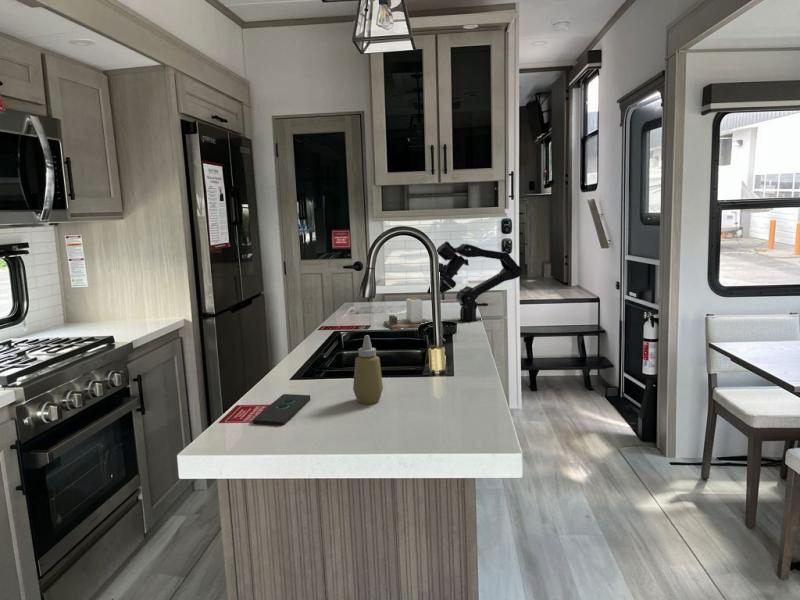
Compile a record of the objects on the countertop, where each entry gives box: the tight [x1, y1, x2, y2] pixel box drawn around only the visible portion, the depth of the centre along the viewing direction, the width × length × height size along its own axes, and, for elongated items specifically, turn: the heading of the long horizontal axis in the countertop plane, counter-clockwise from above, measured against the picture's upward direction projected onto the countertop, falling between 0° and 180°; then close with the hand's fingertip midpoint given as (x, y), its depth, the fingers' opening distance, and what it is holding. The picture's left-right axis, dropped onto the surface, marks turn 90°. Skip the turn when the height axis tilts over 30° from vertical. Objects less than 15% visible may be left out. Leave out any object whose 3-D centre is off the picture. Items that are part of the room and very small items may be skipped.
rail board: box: [383, 314, 430, 330], centre depth 255 cm, size 18×14×4 cm
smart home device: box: [252, 393, 311, 427], centre depth 149 cm, size 8×2×20 cm
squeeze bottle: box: [352, 334, 384, 405], centre depth 154 cm, size 8×8×18 cm
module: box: [405, 296, 423, 323], centre depth 256 cm, size 5×7×11 cm
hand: (431, 294), depth 258 cm, fingers open, 9 cm apart
